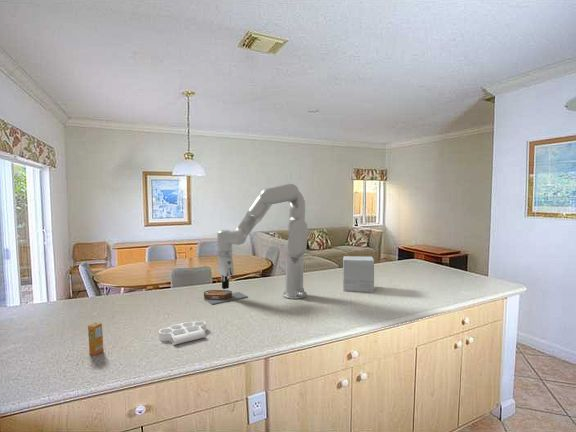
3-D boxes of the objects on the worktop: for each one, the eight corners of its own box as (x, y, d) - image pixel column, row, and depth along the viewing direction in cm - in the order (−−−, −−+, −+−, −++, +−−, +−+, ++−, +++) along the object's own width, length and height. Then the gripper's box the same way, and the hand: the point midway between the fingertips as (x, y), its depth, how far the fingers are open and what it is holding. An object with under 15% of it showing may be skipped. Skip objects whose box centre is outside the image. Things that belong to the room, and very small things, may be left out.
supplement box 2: (372, 286, 194) (372, 256, 194) (374, 292, 181) (374, 260, 180) (343, 285, 198) (343, 255, 197) (342, 291, 184) (343, 259, 183)
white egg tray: (164, 350, 114) (155, 335, 127) (213, 337, 124) (201, 325, 137) (164, 340, 114) (155, 327, 126) (213, 329, 124) (200, 317, 136)
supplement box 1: (88, 354, 111) (86, 325, 110) (97, 349, 114) (96, 321, 113) (95, 355, 109) (94, 326, 109) (104, 351, 113) (103, 322, 112)
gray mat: (247, 297, 173) (247, 296, 173) (212, 304, 161) (212, 303, 161) (239, 293, 181) (239, 292, 181) (204, 299, 169) (204, 298, 169)
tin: (234, 290, 175) (229, 293, 167) (233, 296, 175) (229, 300, 167) (206, 289, 177) (201, 293, 168) (206, 295, 177) (201, 299, 168)
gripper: (237, 255, 167) (238, 290, 168) (225, 251, 179) (225, 284, 180) (224, 256, 163) (224, 292, 164) (212, 252, 175) (213, 286, 176)
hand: (225, 288), depth 172 cm, fingers closed
